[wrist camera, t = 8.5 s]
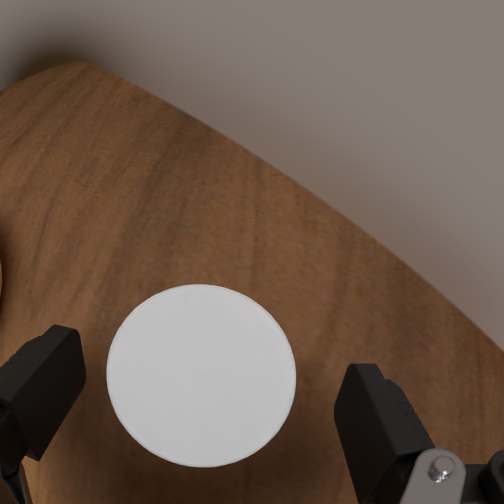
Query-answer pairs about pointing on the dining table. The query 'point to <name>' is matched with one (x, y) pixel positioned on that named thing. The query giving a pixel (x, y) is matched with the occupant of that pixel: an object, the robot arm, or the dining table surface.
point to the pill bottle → (201, 375)
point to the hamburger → (0, 278)
